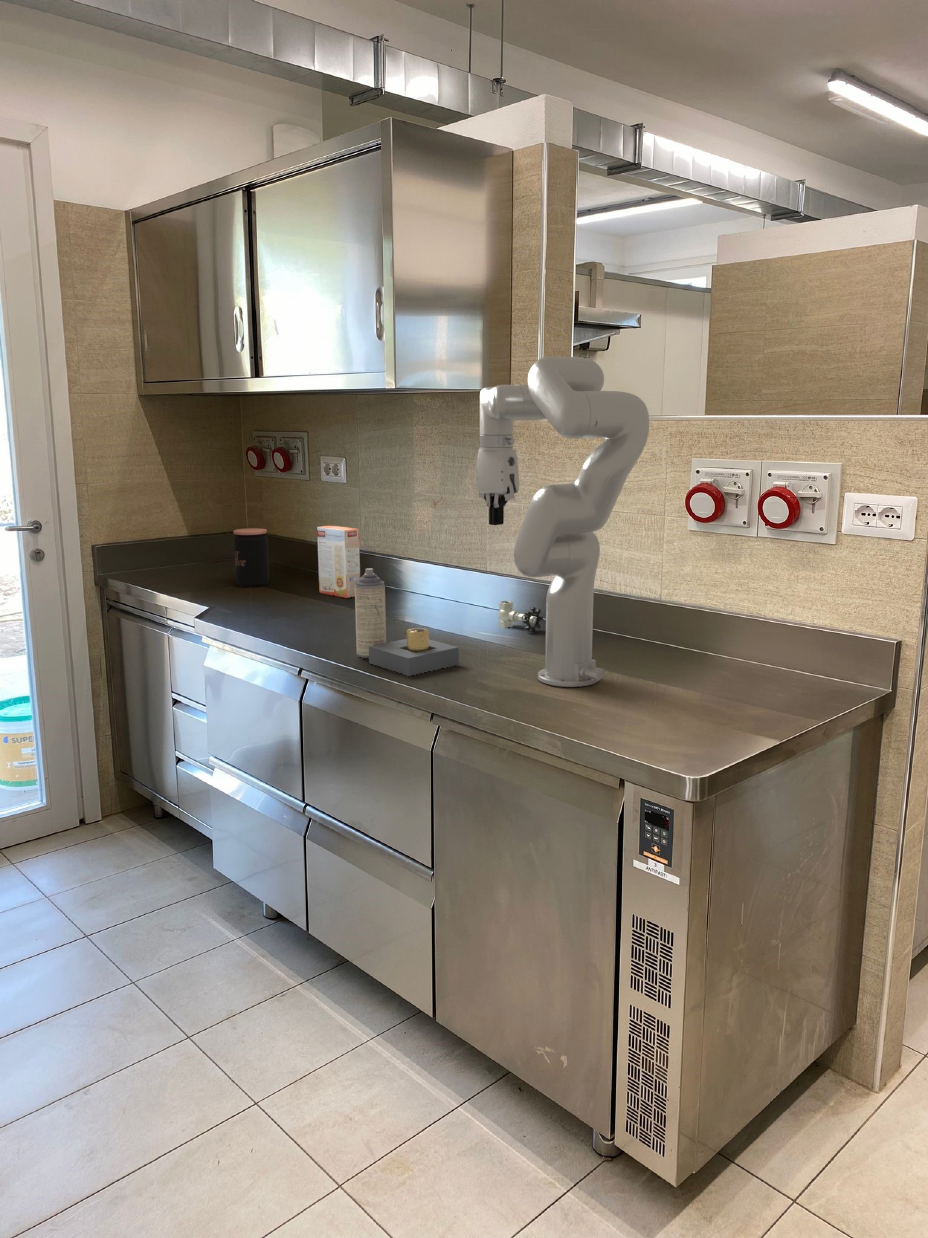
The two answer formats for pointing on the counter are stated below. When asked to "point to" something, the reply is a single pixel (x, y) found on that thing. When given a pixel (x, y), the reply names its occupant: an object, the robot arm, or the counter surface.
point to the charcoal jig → (413, 657)
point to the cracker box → (338, 560)
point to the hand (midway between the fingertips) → (496, 524)
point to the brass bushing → (417, 639)
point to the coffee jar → (251, 557)
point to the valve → (518, 616)
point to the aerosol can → (369, 612)
